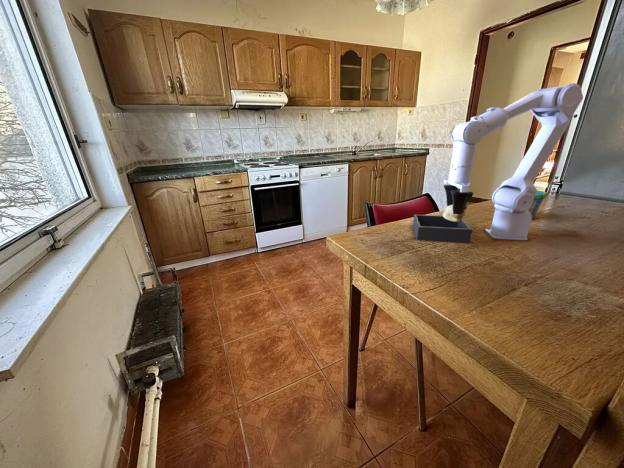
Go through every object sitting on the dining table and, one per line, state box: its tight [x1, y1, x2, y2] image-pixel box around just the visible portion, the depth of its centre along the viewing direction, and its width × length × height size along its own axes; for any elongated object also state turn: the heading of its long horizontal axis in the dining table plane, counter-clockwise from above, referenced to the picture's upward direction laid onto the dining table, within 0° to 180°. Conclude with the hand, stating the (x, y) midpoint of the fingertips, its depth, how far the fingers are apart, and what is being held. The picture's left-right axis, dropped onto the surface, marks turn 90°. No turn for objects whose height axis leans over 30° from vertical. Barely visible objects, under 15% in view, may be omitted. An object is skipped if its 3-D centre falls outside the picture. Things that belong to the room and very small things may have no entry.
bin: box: [412, 214, 473, 244], centre depth 88 cm, size 16×14×5 cm
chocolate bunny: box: [442, 201, 469, 222], centre depth 80 cm, size 6×8×10 cm
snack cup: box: [516, 189, 547, 219], centre depth 101 cm, size 16×10×10 cm
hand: (453, 210), depth 81 cm, fingers closed on chocolate bunny, 7 cm apart
